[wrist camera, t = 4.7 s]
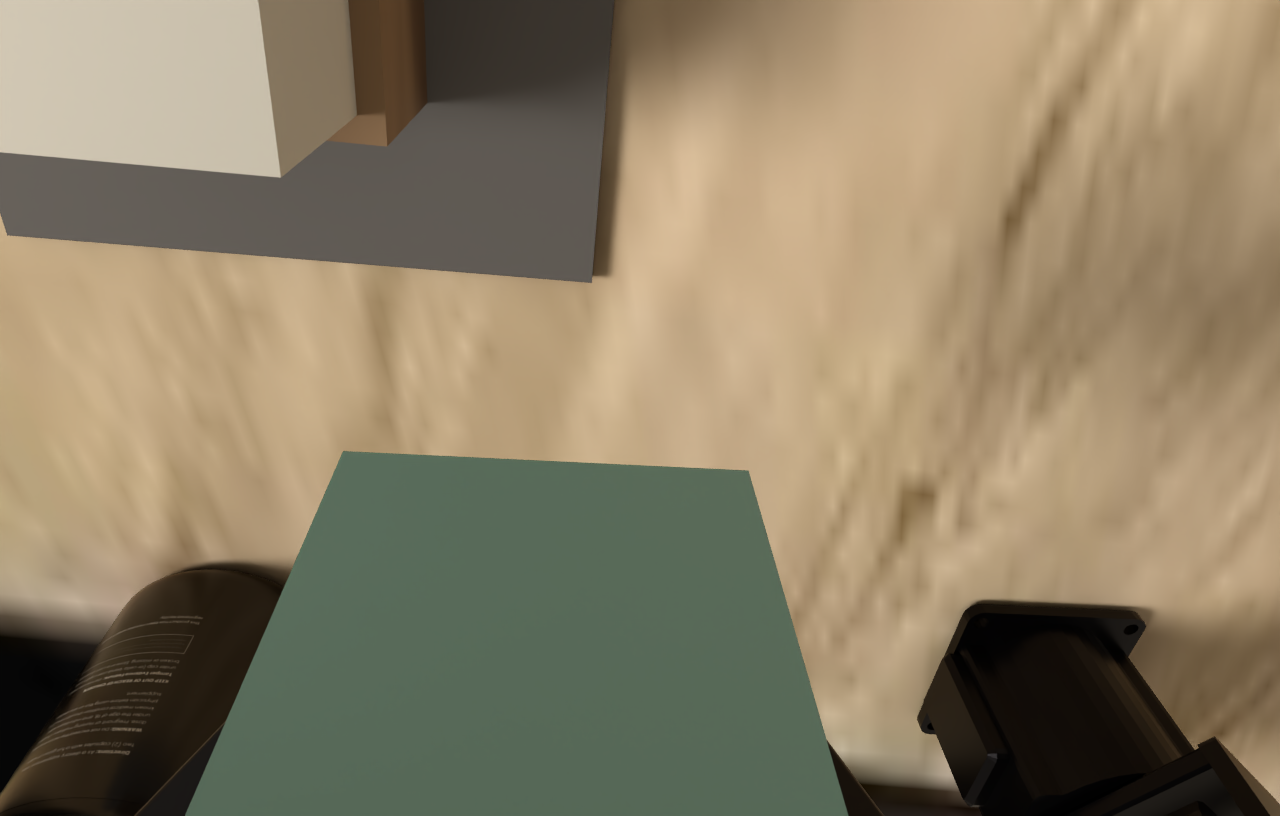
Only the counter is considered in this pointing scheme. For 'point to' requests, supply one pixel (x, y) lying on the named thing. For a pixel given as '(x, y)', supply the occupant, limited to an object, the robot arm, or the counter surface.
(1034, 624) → the robot arm
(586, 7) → the mat
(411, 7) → the tower base
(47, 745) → the supplement bottle
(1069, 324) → the counter surface
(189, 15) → the tower mid
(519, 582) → the teal cube
